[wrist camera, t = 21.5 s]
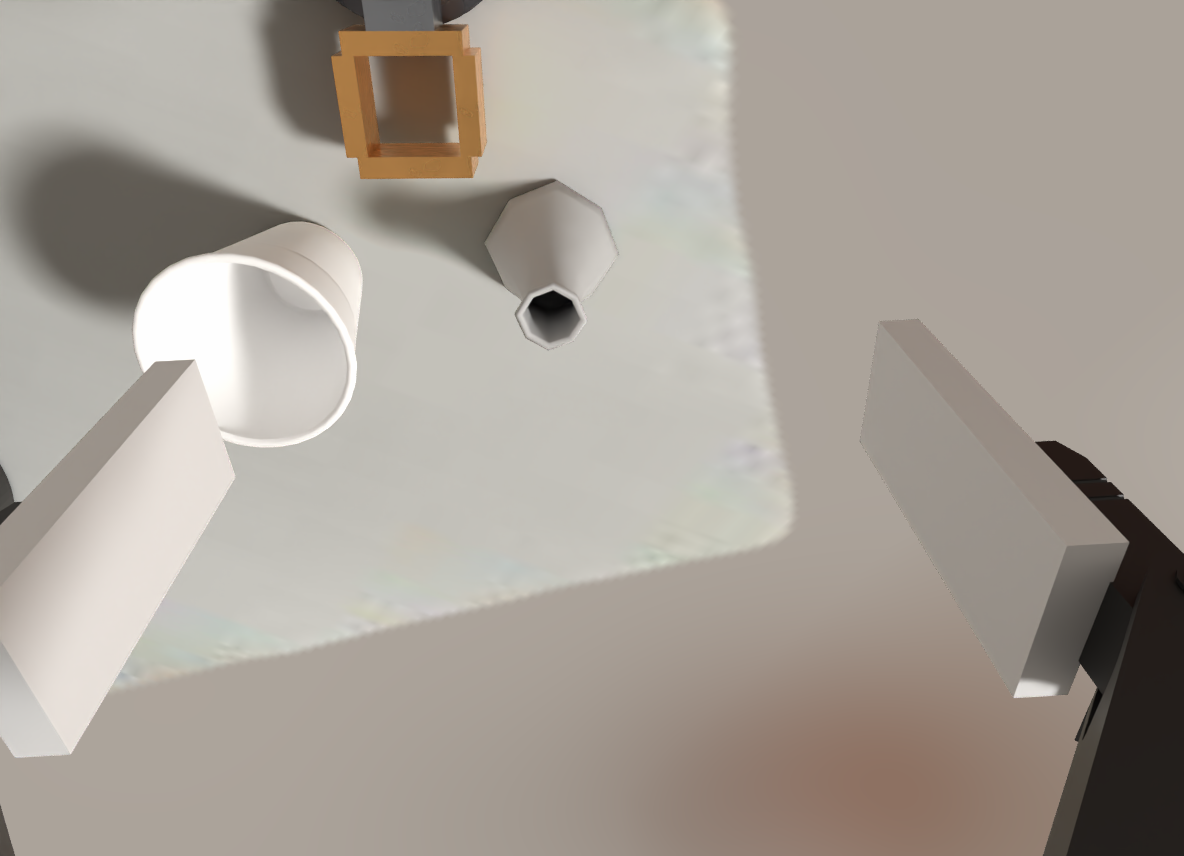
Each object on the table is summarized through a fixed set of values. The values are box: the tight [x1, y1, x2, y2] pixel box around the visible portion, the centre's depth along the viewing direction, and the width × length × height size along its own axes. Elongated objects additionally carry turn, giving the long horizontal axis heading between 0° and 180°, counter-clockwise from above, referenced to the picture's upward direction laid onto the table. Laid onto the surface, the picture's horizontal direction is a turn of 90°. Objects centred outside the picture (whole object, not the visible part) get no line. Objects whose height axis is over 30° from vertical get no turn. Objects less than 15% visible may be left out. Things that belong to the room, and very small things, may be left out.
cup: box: [132, 222, 363, 447], centre depth 41 cm, size 10×10×11 cm
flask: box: [485, 180, 619, 350], centre depth 41 cm, size 7×7×10 cm
